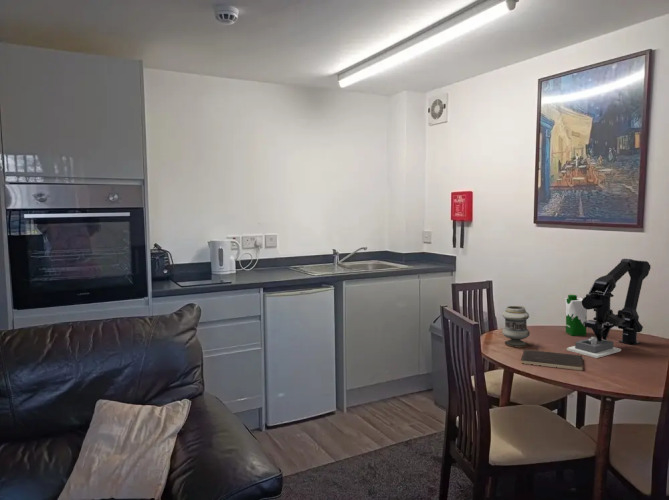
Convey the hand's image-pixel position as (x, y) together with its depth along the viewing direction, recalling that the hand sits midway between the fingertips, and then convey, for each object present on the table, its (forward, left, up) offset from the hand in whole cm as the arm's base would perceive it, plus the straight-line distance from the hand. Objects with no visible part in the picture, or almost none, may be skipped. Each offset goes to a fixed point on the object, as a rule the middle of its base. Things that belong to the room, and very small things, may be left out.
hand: (602, 340), depth 214 cm
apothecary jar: (+26, -26, -4) cm, 37 cm away
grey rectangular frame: (+6, 0, -2) cm, 6 cm away
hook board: (+6, 0, -4) cm, 7 cm away
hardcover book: (+34, -1, -4) cm, 35 cm away
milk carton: (-13, -21, -4) cm, 25 cm away
